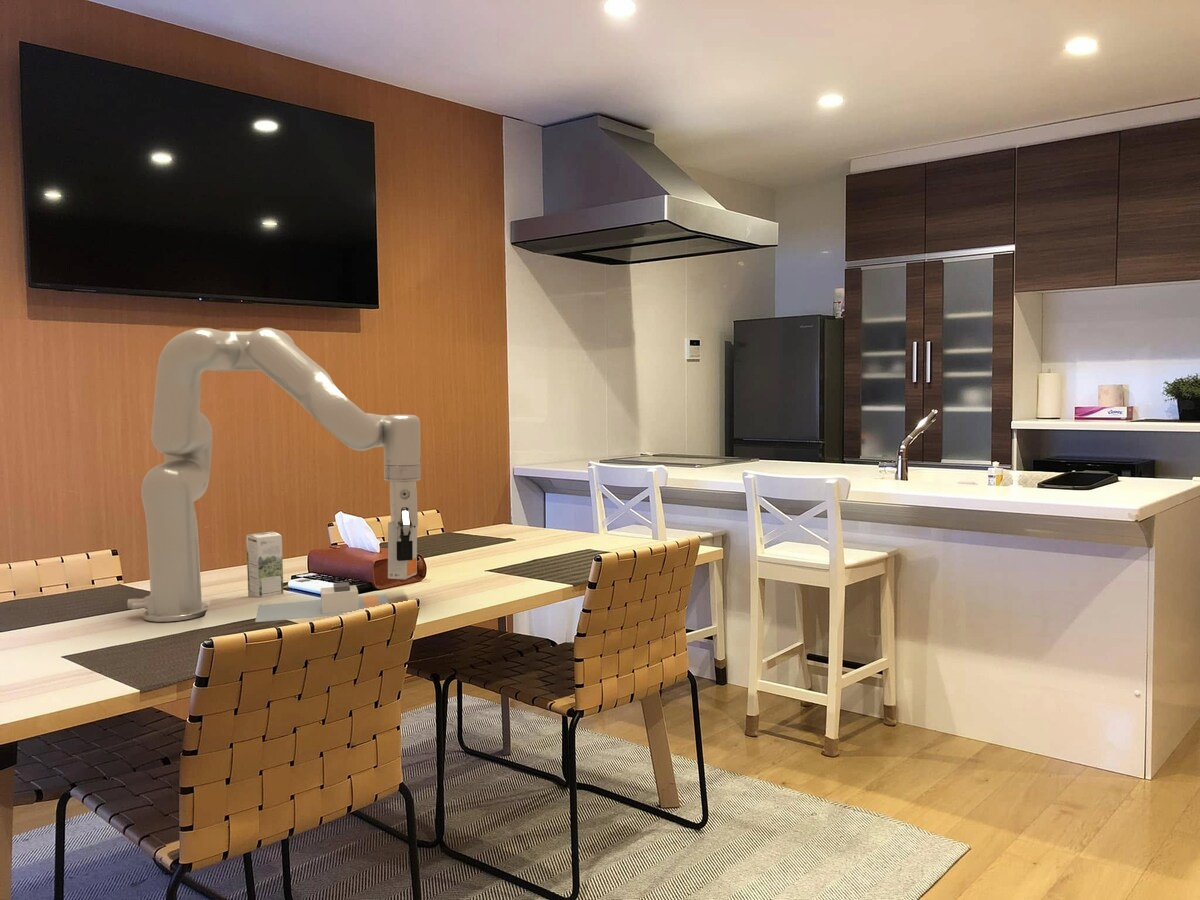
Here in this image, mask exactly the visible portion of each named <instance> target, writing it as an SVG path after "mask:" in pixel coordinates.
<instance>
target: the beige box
mask: <svg viewBox="0 0 1200 900" xmlns="http://www.w3.org/2000/svg"><path fill="white" fill-rule="evenodd" d="M358 597H359V590H358V587H357V585H356V584H355V585H354V584H353V585H350V582H349V581H345V582H333V585H332V587H320V600H321V607H322V613H323V614H328V613H339V612H349V611H356V610H359V604H358Z"/></svg>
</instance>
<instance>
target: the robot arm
mask: <svg viewBox="0 0 1200 900" xmlns="http://www.w3.org/2000/svg"><path fill="white" fill-rule="evenodd" d="M205 371H213V372H214V371H215V372H232V371H233V372H237V371H241V372H242V371H248V372H249V371H260V372H262V373H263V374H264V375H266V376H267V377H268V378H269V379H271V380H272V381H273V382H274V383H275V384H276V385H278V386H279V387H280V388H281V389H283V391H285V392H286V393H287V394H288V395H289V396H290V397H292V398H293V399H294V400H295V401H296V402H297V403H298V404H299V405H300V406H301V407H302V408H303V409H304V410H305V411H306V412H307V413H309V414H310V415H311V416H312V417H313V418H314V419H315V420H316V421H317V422H318V423H319V424H320V425H321V426H322V427H323V428H324V429H326V430H327V431H328V432H330V433H331V434H332V435H333V436H334V437H335V438H336V439H338V440H339V441H340V442H341V443H343V445H345V446H346V447H348V448H350V449H351V450H353V451H354V450H355V451H356V452H357V451H358V452H363V451H368V450H370V449H374V448H381V447H383V477H384V478H383V480H384V481H385V482H389V508H390V522H393V524H394V527H395V528H397V531H398V541H397V560H398V561H406V560H412V559H413V541H412V533H411V524H412V526H413V527H414V528H417V529H418V527H419V520H418V519H419V515H418V490H417V482H418V481H421V474H422V473H421V469H422V468H421V420H420V418H419V416H418V415H414V414H389V415H386V414H385V415H384V414H377V413H371V412H365V411H363V410H362V409H361V408H360V407H358V405H356V404H355V403H354V402H353V401H352V400H350V399H349V398H348V397H347V396H346V394H344V393H343V392H342V391H341V390H340V389H339V388H338V386H336V385H335V382H333V379H332V378H331V375H330V374H329V373H328V372H327V371H326V370H325V369H324V368H323V367H322V366H321V365H319V364H318V363H317V362H316V361H315V360H313V359H312V358H311V357H309V356H308V355H307V354H306V353H305V352H304V351H303V350H301V349H300V348H299V347H298V346H297V345H296V344H295V341H294V339H292V337H291V336H290V335H289V334H288V333H287V332H285V331H282V330H280V329H277V328H276V329H275V328H273V327H261V328H258V329H255V330H251V331H248V330H246V331H242V330H240V331H232V330H231V331H229V330H227V331H224V330H220V329H215V328H210V327H209V328H208V327H196V328H191V329H189V330H186V331H183V332H180V333H179V334H177V335H175V336H174V337H172V338H171V339H170V340H169V341H168V342H167V343H166V344H165V345H164V347H163V348H162V351H161V352H160V354H159V357H158V362H157V367H156V378H155V379H156V381H155V389H154V390H155V391H154V399H153V408H152V409H153V410H152V411H153V412H152V422H151V430H150V437H151V442H152V444H153V445H152V446H153V447H154V449H156V450H157V451H158V452H160V454H163V455H164V459H163V460H164V461H163V463H159V464H157V465H155V466H154V467H152V468H151V469H149V470H148V472H147V473H146V474H145V476H144V477H143V480H142V482H141V489H140V493H141V496H140V497H141V501H142V505H143V506H142V507H143V510H144V515H145V522H146V523H145V524H146V538H147V549H148V552H147V553H148V554H147V555H148V568H149V569H148V571H149V587H150V594H149V595H147V596H144V597H143V598H128V599H127V609H129V610H130V609H132V610H140V609H144V610H145V611H143V613H142V615H143V616H142V617H143V618H142V619H144V620H145V621H147V622H148V621H149V622H155V623H157V622H158V623H159V622H160V623H161V622H163V623H165V622H167V623H168V622H170V623H171V622H178V621H185V620H191V619H195V618H199V617H203V616H205V615H206V613H207V611H208V609H209V608H210V607H211V606H210V604H209V603H205V602H203V601H202V600H203V599H202V582H201V562H200V561H201V560H200V543H199V540H200V539H199V527H198V526H199V525H198V518H197V512H196V509H195V504H194V502H195V501H197V500H199V499H201V498H202V496H204V494H205V493H206V492H207V490H208V486H209V484H210V476H211V464H212V452H213V442H214V440H213V437H214V435H213V427H212V424H211V422H210V420H209V419H208V418H207V416H206V415H205V414H204V413H202V411H201V412H200V409H201V407H200V406H201V405H200V404H201V397H202V385H201V383H202V382H201V376H202V373H203V372H205ZM399 521H400V523H399ZM400 524H403V526H400Z"/></svg>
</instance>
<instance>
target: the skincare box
mask: <svg viewBox="0 0 1200 900" xmlns="http://www.w3.org/2000/svg"><path fill="white" fill-rule="evenodd" d="M399 523H400V521H399ZM400 526H403V524H400ZM411 533H412V541H413V559H412V560H406V561H398V560H397V541H398V531H397V528H395V527H394V524H393V522H391V521H389V522H387V579H389V580H390V579H392V580H407V579H409V578H411V577H413V576H416V575H417V574H418V567H417V566H418V527H417V528H414V527H413V526H412V524H411Z"/></svg>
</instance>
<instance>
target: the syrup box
mask: <svg viewBox="0 0 1200 900" xmlns="http://www.w3.org/2000/svg"><path fill="white" fill-rule="evenodd" d="M245 540H246V541H245V542H246V546H245V547H246V565H247V567H246V568H247V569H246V570H247V591H248V594H247V597H249V598H250V597H256V598H257V597H258V598H263V597H269V596H274V595H284V592H285V591H284V571H283V570H284V569H283V567H284V565H283V537H282V534H280V533H278V532H275V531H267V532H259V533H251V534H246V537H245Z"/></svg>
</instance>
